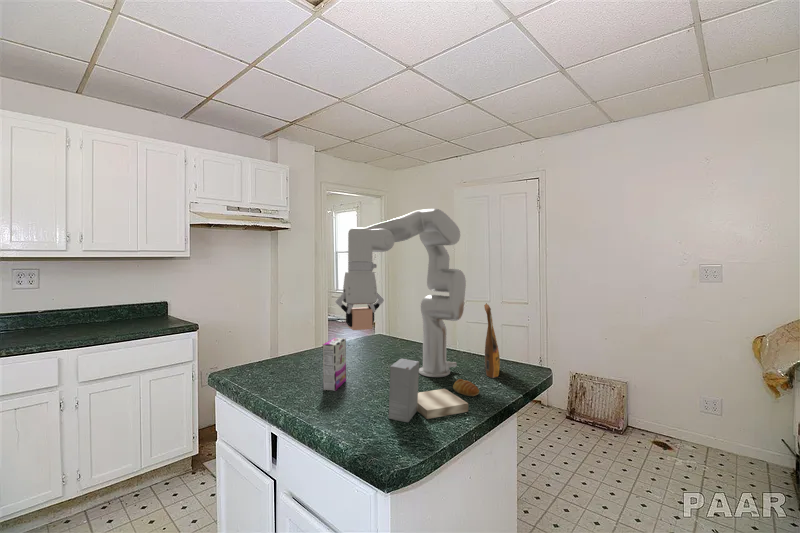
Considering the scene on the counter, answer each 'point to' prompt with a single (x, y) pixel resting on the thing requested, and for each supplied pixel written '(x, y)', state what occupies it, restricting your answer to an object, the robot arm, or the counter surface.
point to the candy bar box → (334, 364)
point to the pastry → (465, 388)
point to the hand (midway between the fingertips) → (360, 324)
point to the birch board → (440, 403)
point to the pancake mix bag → (491, 348)
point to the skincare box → (403, 389)
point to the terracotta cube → (361, 318)
